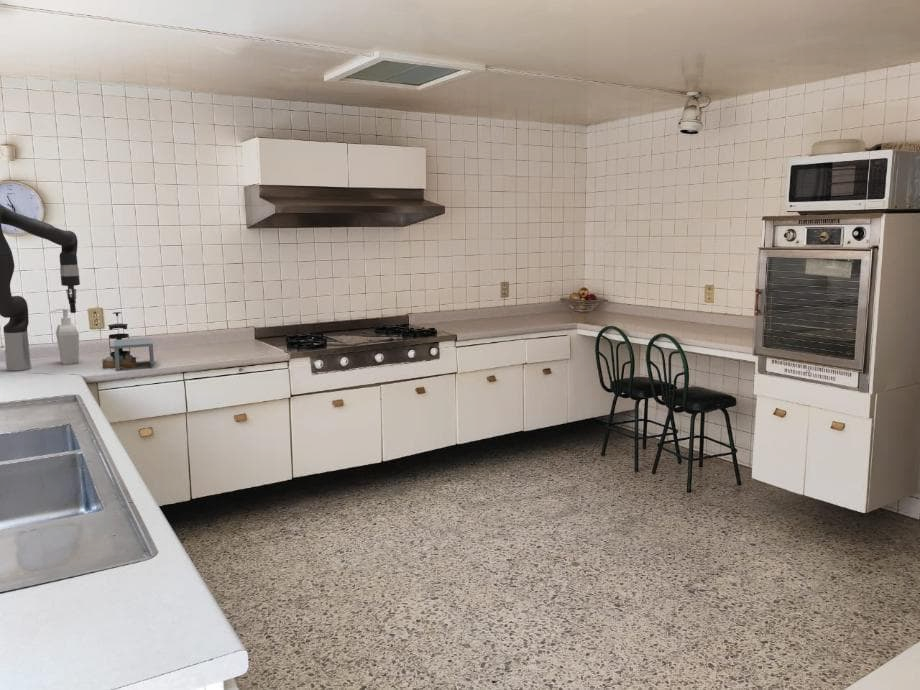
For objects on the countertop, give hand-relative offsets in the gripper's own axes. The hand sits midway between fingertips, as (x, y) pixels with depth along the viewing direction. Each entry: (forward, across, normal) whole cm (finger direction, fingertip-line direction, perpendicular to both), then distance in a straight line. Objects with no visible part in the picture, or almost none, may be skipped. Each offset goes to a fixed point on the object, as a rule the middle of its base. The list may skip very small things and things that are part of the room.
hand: (73, 312), depth 337 cm
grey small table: (+25, -10, -24) cm, 36 cm away
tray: (+25, -10, -18) cm, 32 cm away
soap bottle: (+25, +13, +5) cm, 29 cm away
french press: (+25, +13, -18) cm, 34 cm away
